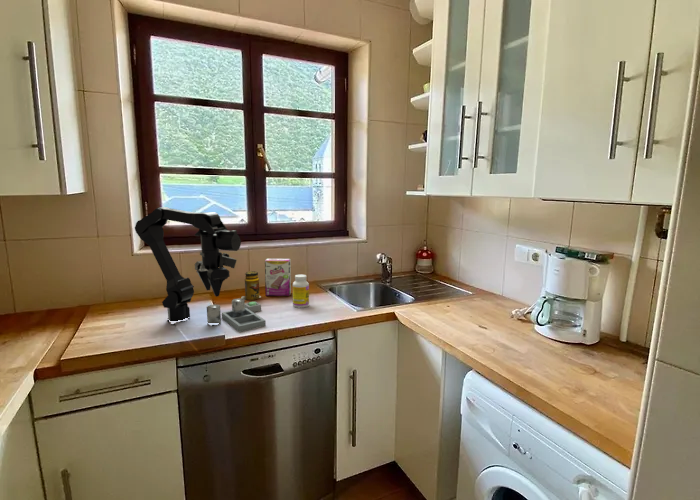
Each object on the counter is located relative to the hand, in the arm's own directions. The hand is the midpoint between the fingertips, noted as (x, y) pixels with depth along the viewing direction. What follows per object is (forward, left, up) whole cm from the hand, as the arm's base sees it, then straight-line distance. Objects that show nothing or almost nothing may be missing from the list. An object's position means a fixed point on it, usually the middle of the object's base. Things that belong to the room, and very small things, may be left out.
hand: (212, 293), depth 133 cm
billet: (0, 0, -12) cm, 12 cm away
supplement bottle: (+36, +1, -12) cm, 38 cm away
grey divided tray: (+9, -4, -12) cm, 15 cm away
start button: (+17, +6, -11) cm, 21 cm away
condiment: (+23, +22, -12) cm, 34 cm away
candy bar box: (+36, +21, -12) cm, 43 cm away
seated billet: (+9, 0, -11) cm, 14 cm away
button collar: (+17, +6, -12) cm, 22 cm away
